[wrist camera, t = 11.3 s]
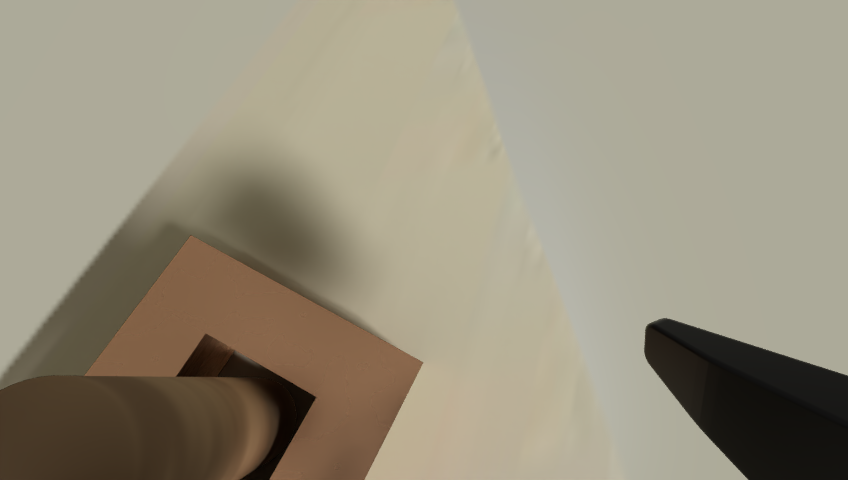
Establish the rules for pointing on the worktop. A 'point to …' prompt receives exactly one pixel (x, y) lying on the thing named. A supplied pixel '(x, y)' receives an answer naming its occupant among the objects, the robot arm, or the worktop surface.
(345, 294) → the worktop surface
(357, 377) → the hollow square frame
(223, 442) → the pin
